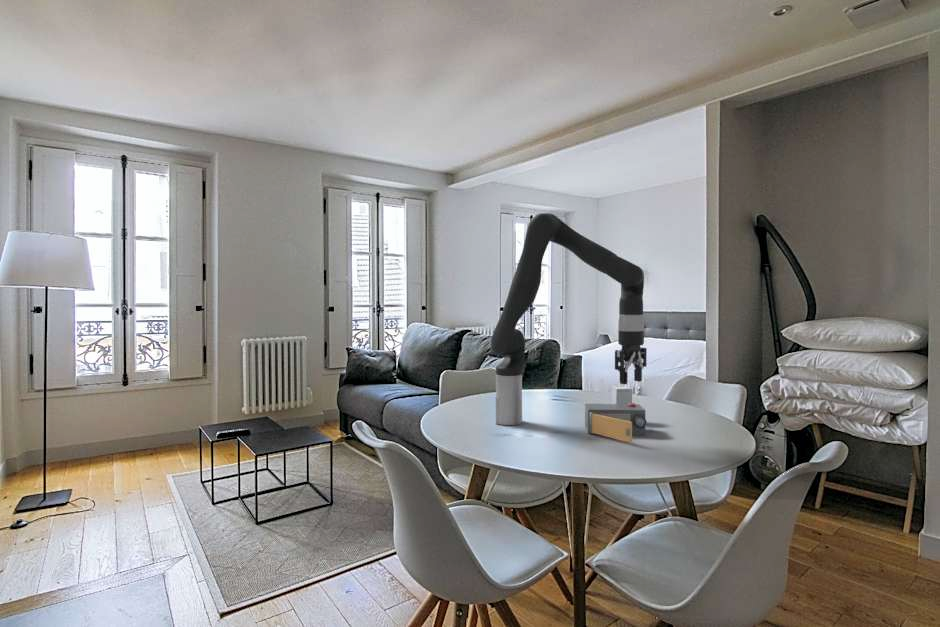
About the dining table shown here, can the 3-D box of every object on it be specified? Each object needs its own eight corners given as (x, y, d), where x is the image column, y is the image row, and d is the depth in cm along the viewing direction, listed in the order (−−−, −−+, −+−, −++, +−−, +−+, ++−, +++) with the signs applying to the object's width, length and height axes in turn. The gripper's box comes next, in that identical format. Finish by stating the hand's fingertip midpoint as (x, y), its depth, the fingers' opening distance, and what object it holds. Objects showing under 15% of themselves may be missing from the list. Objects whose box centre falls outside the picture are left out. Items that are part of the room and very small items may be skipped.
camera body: (588, 435, 164) (589, 408, 164) (584, 426, 175) (584, 401, 174) (646, 436, 162) (646, 409, 162) (638, 427, 173) (639, 402, 173)
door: (588, 433, 164) (588, 412, 164) (591, 432, 165) (591, 411, 165) (629, 444, 153) (629, 421, 152) (632, 443, 154) (632, 420, 153)
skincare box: (616, 423, 180) (616, 388, 179) (610, 420, 184) (611, 386, 184) (632, 422, 180) (632, 388, 180) (627, 419, 185) (627, 386, 184)
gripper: (628, 331, 149) (628, 386, 150) (654, 328, 158) (654, 381, 159) (607, 330, 155) (606, 383, 155) (633, 327, 164) (632, 378, 165)
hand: (631, 382), depth 157 cm, fingers open, 7 cm apart
